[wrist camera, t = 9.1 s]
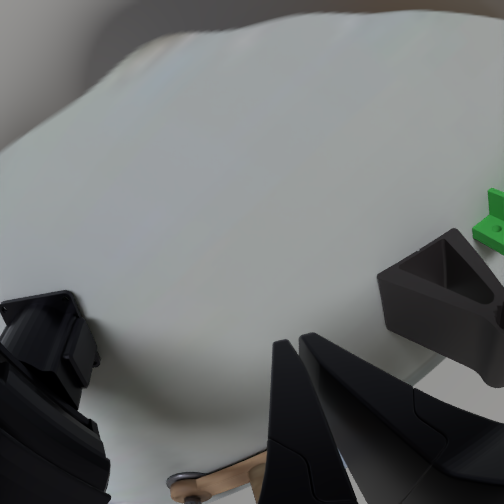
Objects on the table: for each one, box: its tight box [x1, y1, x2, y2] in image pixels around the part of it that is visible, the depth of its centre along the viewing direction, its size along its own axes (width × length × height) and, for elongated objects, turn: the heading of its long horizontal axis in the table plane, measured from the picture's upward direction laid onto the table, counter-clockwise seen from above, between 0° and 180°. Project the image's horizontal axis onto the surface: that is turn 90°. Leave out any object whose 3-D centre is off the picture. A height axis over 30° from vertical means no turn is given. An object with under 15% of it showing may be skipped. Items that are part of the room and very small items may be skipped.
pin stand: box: [166, 472, 207, 504], centre depth 29 cm, size 6×6×5 cm
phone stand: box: [377, 228, 504, 388], centre depth 20 cm, size 9×6×12 cm, turn 113°
